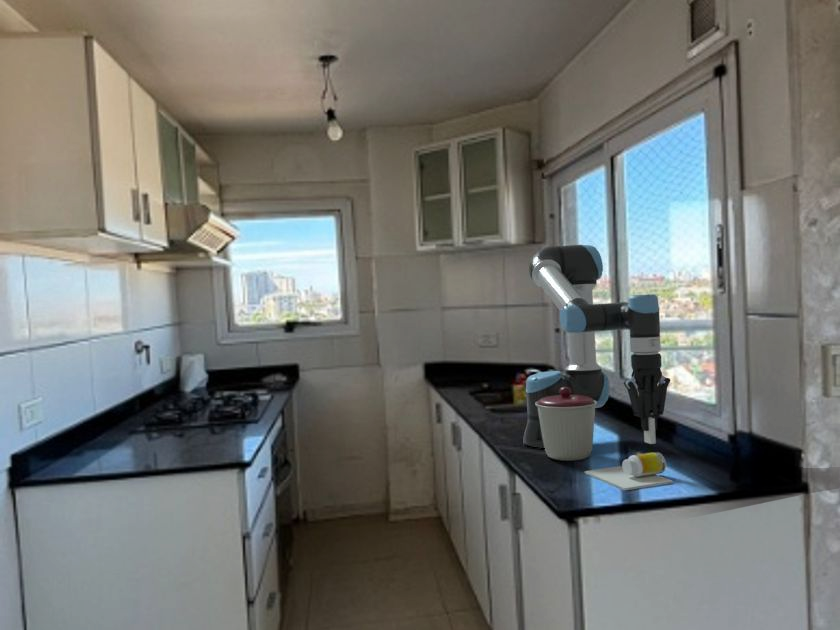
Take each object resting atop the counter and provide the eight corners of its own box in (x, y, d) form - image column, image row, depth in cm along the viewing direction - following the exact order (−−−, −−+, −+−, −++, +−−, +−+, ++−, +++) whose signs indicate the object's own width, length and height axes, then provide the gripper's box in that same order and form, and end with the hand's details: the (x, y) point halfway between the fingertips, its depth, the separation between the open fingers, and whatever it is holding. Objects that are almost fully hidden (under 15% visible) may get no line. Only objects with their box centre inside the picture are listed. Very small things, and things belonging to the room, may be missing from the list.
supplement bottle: (659, 447, 169) (626, 452, 166) (670, 465, 165) (636, 470, 162) (650, 459, 173) (617, 464, 169) (660, 477, 169) (627, 482, 166)
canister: (526, 455, 199) (523, 386, 198) (576, 447, 205) (573, 381, 205) (559, 467, 182) (555, 393, 181) (612, 459, 188) (609, 387, 188)
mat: (584, 473, 175) (584, 471, 175) (629, 467, 179) (629, 464, 179) (624, 490, 157) (624, 488, 157) (672, 483, 161) (672, 480, 161)
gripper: (633, 355, 164) (637, 448, 165) (676, 352, 168) (680, 442, 168) (615, 354, 171) (620, 442, 172) (657, 350, 175) (661, 437, 176)
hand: (650, 442), depth 170 cm, fingers closed
